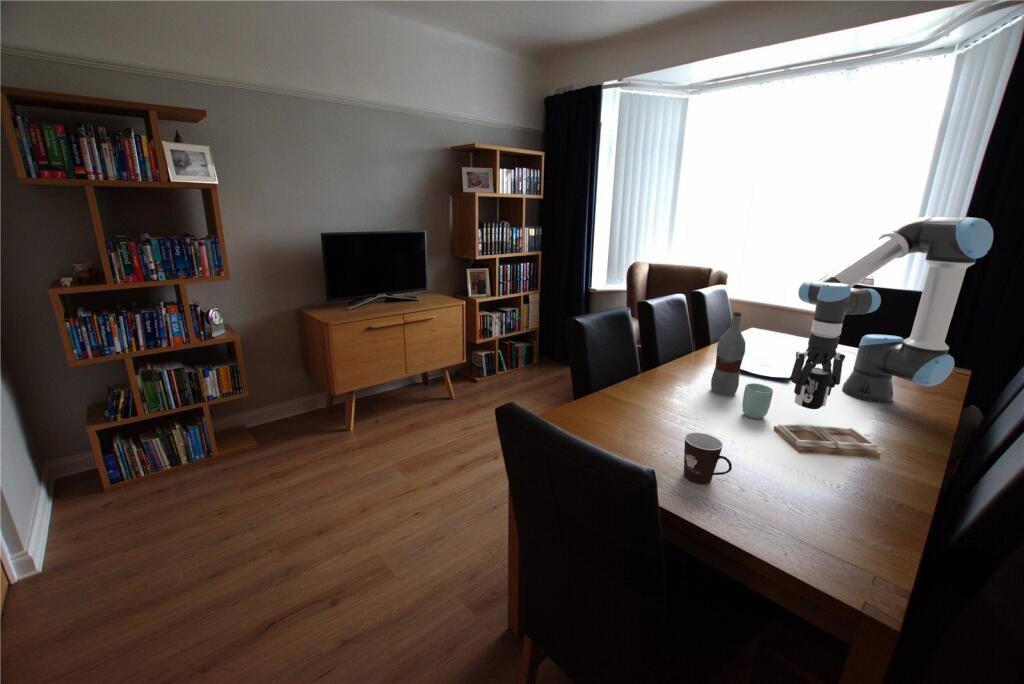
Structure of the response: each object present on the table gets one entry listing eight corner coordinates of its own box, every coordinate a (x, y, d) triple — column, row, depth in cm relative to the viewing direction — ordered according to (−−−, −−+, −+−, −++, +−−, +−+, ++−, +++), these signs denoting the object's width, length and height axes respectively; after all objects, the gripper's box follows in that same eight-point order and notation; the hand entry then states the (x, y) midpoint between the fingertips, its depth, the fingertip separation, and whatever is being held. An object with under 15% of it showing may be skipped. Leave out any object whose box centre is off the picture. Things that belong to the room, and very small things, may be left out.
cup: (756, 423, 144) (762, 393, 141) (735, 413, 151) (740, 385, 148) (772, 419, 148) (778, 390, 145) (750, 409, 154) (756, 381, 151)
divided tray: (846, 433, 140) (848, 425, 139) (879, 457, 126) (882, 448, 125) (773, 429, 140) (775, 421, 140) (798, 452, 127) (801, 444, 126)
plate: (792, 371, 196) (793, 365, 195) (790, 385, 179) (791, 378, 178) (739, 361, 206) (741, 355, 205) (733, 373, 189) (734, 367, 189)
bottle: (703, 388, 171) (717, 310, 162) (722, 386, 174) (736, 309, 166) (724, 398, 162) (739, 316, 154) (742, 395, 166) (758, 314, 157)
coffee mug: (673, 467, 117) (678, 432, 114) (705, 467, 118) (711, 432, 115) (694, 495, 106) (701, 457, 103) (729, 494, 107) (737, 456, 104)
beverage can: (825, 411, 142) (833, 374, 138) (801, 409, 143) (809, 373, 139) (816, 402, 148) (824, 367, 144) (794, 400, 149) (801, 365, 146)
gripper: (849, 331, 142) (833, 400, 148) (785, 330, 142) (772, 398, 149) (866, 338, 134) (848, 410, 141) (798, 337, 135) (784, 408, 142)
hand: (809, 404), depth 145 cm, fingers closed on beverage can, 7 cm apart
